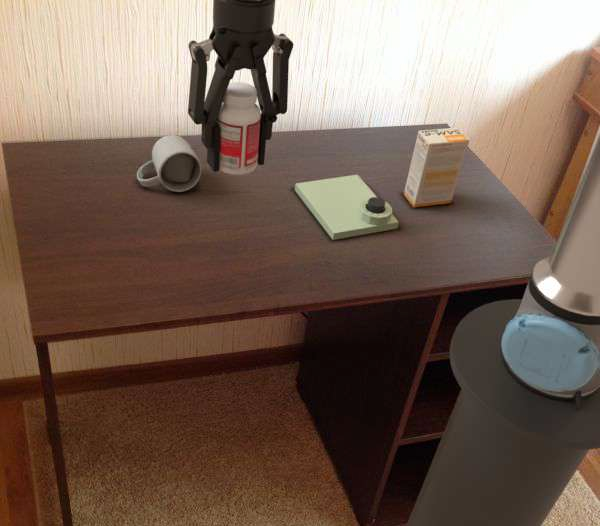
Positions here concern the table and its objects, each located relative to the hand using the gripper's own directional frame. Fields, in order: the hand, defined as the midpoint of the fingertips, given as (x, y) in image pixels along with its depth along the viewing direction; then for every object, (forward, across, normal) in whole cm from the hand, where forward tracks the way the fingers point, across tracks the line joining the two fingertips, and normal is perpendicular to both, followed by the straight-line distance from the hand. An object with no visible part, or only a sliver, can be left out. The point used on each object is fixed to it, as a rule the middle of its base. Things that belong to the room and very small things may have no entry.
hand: (235, 163), depth 107 cm
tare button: (+16, -29, -5) cm, 34 cm away
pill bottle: (+1, 0, 0) cm, 1 cm away
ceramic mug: (+19, +1, -26) cm, 32 cm away
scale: (+19, -26, -10) cm, 34 cm away
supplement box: (+19, -44, -8) cm, 48 cm away
